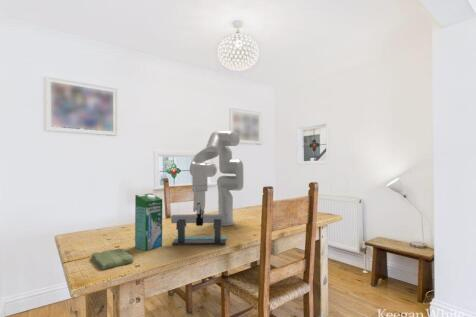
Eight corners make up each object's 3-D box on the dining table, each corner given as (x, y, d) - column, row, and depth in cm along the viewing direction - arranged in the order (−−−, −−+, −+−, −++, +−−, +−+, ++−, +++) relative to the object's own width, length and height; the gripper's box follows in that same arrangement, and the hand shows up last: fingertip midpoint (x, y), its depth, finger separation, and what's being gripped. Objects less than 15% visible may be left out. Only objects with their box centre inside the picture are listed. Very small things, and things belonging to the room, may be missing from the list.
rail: (172, 221, 134) (172, 214, 134) (227, 221, 134) (227, 214, 134) (171, 223, 130) (171, 216, 130) (227, 222, 131) (227, 215, 131)
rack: (174, 241, 135) (175, 218, 135) (225, 241, 135) (225, 218, 135) (171, 246, 128) (171, 221, 128) (225, 245, 128) (225, 221, 128)
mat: (176, 237, 141) (176, 236, 141) (226, 237, 142) (226, 236, 142) (174, 240, 136) (174, 239, 136) (226, 240, 137) (226, 239, 137)
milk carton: (145, 250, 121) (146, 196, 121) (134, 247, 126) (135, 194, 126) (162, 245, 128) (162, 194, 128) (151, 242, 133) (151, 193, 134)
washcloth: (121, 252, 120) (121, 245, 120) (135, 263, 107) (135, 255, 107) (89, 259, 111) (89, 251, 112) (99, 272, 98) (99, 264, 98)
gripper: (194, 186, 140) (194, 220, 140) (189, 190, 124) (189, 229, 124) (208, 186, 140) (208, 220, 141) (205, 190, 124) (205, 229, 124)
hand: (200, 224), depth 132 cm, fingers closed on rail, 3 cm apart
